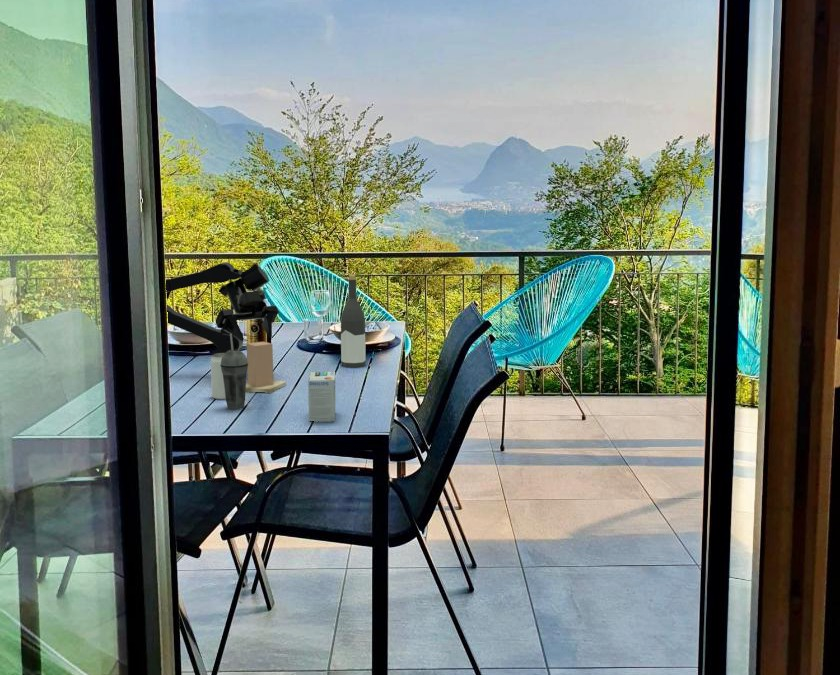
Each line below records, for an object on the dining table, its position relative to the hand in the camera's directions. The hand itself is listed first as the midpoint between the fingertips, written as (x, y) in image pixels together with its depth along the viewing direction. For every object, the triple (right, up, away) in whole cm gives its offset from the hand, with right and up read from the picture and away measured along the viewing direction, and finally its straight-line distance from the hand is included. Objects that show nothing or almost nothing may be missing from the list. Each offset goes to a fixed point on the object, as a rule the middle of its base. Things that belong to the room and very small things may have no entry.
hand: (257, 338), depth 260 cm
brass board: (+2, -15, -5) cm, 15 cm away
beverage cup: (0, -18, -28) cm, 33 cm away
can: (-6, -17, -16) cm, 24 cm away
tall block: (+2, -13, -5) cm, 14 cm away
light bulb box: (+24, -20, -38) cm, 49 cm away
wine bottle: (+26, -9, +29) cm, 41 cm away
